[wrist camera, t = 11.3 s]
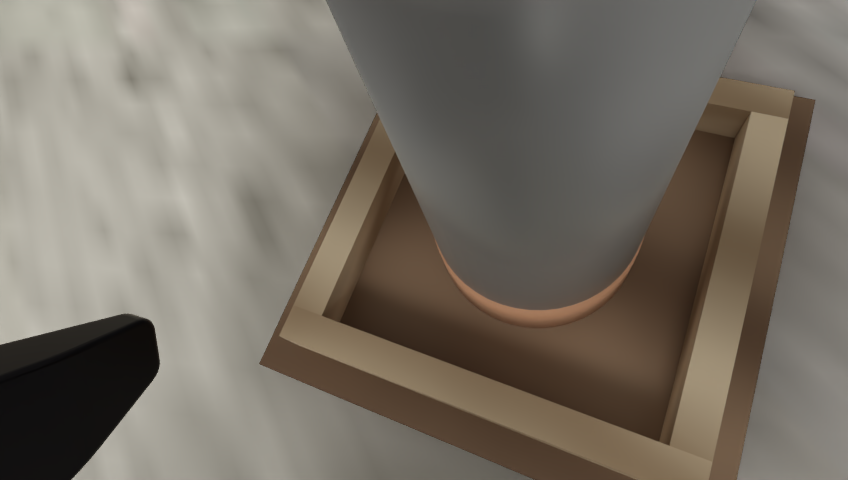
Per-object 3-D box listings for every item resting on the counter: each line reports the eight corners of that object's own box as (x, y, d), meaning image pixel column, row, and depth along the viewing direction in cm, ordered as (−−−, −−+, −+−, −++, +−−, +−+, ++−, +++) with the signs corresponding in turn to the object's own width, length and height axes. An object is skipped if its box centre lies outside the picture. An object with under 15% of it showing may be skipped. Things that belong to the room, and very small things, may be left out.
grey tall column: (527, 369, 17) (502, 140, 5) (405, 228, 19) (188, -160, 7) (679, 241, 17) (999, -255, 5) (542, 119, 20) (551, -410, 8)
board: (709, 551, 15) (740, 567, 13) (272, 368, 19) (236, 356, 17) (801, 117, 19) (838, 70, 17) (422, 43, 23) (409, -3, 21)
